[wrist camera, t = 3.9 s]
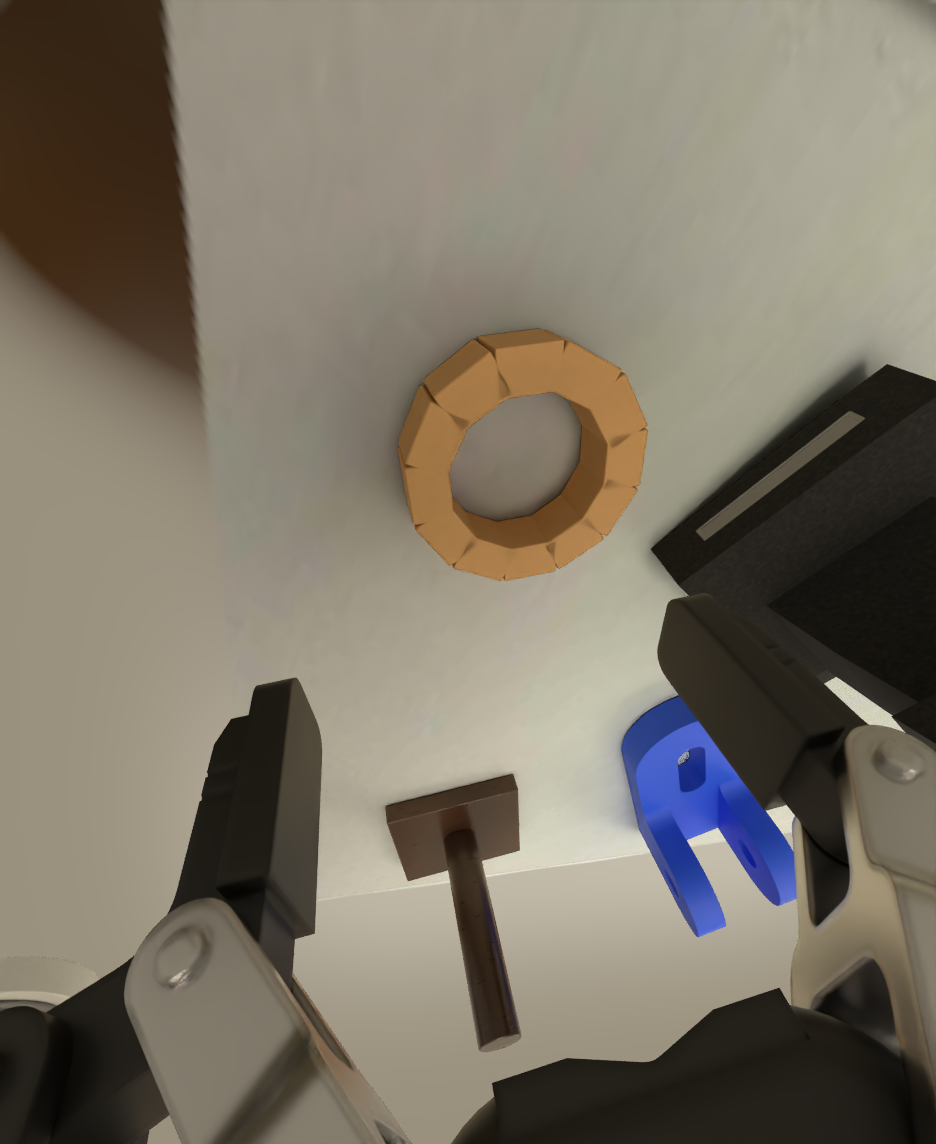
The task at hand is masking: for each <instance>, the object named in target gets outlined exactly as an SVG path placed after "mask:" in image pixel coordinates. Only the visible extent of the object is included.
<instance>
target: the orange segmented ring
mask: <svg viewBox="0 0 936 1144" xmlns="http://www.w3.org/2000/svg"><path fill="white" fill-rule="evenodd" d="M424 383H425V385H426V386H427V387H426V386H424V385H420V386H419V388H418V390H417V393H416V395H415V398H414V401H413V403H412V406H411V408H410V411H409V414H408V416H407V419H406V421H405V424H404V427H403V429H402V432H401V434H400V437H399V439H398V441H399V445H400V446H398V454H399V460H400V465H401V471H402V477H403V483H404V489H405V494H406V499H407V503H408V507H409V511H410V515H411V519H412V523H413V524H414V525H415V529H416V531H417V532H418V533H419V534H420V535H421V536H422V537H423V538H424V539H425V540H426V541H427V542H428V544H429V545H430V546H431V547H432V548H433V549H434V550H435V551H436V552H437V553H438V554H439V555H440V556H441V557H442V558H443V559H444V560H445V562H446V563H447V564H448V565H450V566H451V565H453V568H455V569H458V570H462V571H466V572H469V573H473V574H477V575H480V576H484V577H488V578H491V579H495V580H499V581H501V580H502V579H503V578H504V580H505V581H508V580H513V579H518V578H523V577H528V576H534V575H539V574H544V573H549V572H554V571H555V568H556V566H557V568H559V569H560V568H562V567H563V566H565V565H566V564H568V563H569V562H571V561H572V560H574V559H575V558H577V557H578V556H580V555H581V554H583V553H584V552H585V551H587V550H588V549H590V548H591V547H593V546H594V545H596V544H597V543H599V542H600V541H602V540H603V536H602V535H601V534H603V535H606V536H607V535H608V534H609V533H610V531H611V530H612V528H613V527H614V525H615V523H616V522H617V520H618V519H619V517H620V516H621V514H622V513H623V511H624V510H625V508H626V507H627V505H628V504H629V502H630V501H631V499H632V498H633V496H634V495H635V493H636V492H637V488H636V487H635V486H639V485H640V481H641V474H642V467H643V460H644V453H645V447H646V440H647V433H648V430H647V429H646V428H644V427H646V426H647V423H646V420H645V418H644V416H643V413H642V411H641V409H640V406H639V404H638V402H637V399H636V397H635V395H634V392H633V390H632V388H631V386H630V383H629V381H628V379H627V376H626V374H625V373H623V372H621V369H620V368H619V367H617V366H615V365H613V364H611V363H610V362H608V361H606V360H604V359H602V358H600V357H599V356H597V355H595V354H593V353H591V352H590V351H588V350H586V349H584V348H582V347H580V346H579V345H577V344H575V343H573V342H571V341H569V340H567V339H565V338H563V337H560V336H558V335H556V334H553V333H551V332H549V331H547V330H544V331H543V330H541V329H532V330H524V331H516V332H509V333H501V334H493V335H485V336H479V337H478V342H477V341H475V340H474V339H473V340H471V341H470V342H469V343H468V344H466V345H465V346H464V347H463V348H461V349H460V350H459V351H458V352H457V353H455V354H454V355H453V356H452V357H450V358H449V359H448V360H447V361H445V362H444V363H443V364H442V365H441V366H439V367H438V368H437V369H436V370H434V371H433V372H432V373H431V374H429V375H428V376H427V377H426V378H425V379H424ZM549 392H554V393H556V394H558V395H560V396H562V397H564V398H566V399H568V400H569V402H570V404H571V406H572V407H573V409H574V411H575V413H576V415H577V417H578V419H579V421H580V422H581V424H582V434H581V450H580V462H579V464H578V466H577V468H576V469H575V471H574V473H573V474H572V476H571V478H570V480H569V481H568V483H567V485H566V486H565V488H564V490H563V492H562V493H561V495H560V496H558V497H557V498H555V499H554V500H552V501H551V502H550V503H548V504H547V505H545V506H544V507H543V508H541V509H540V510H538V511H537V512H536V513H534V514H533V515H531V516H526V517H520V518H515V519H509V520H504V521H498V522H496V521H493V520H490V519H487V518H484V517H481V516H477V515H474V514H471V513H468V512H465V511H464V510H463V509H462V507H461V506H460V505H459V504H458V502H457V501H456V500H455V499H454V498H453V496H452V491H451V482H450V473H449V469H450V467H451V465H452V462H453V460H454V458H455V456H456V454H457V451H458V449H459V447H460V445H461V443H462V440H463V438H464V436H465V434H466V431H467V429H468V428H469V427H470V426H472V425H473V424H474V423H476V422H477V421H478V420H479V419H481V418H482V417H483V416H485V415H486V414H487V413H488V412H490V411H491V410H492V409H494V408H495V407H496V406H498V405H499V404H500V403H501V402H503V401H504V400H505V399H508V398H515V397H522V396H528V395H535V394H542V393H549Z"/></svg>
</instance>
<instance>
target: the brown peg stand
mask: <svg viewBox="0 0 936 1144" xmlns="http://www.w3.org/2000/svg"><path fill="white" fill-rule="evenodd" d="M386 816H387V824H388V827H389V830H390V833H391V836H392V838H393V841H394V844H395V847H396V850H397V852H398V855H399V858H400V861H401V863H402V866H403V869H404V872H405V875H406V877H407V880H408V881H411V880H414V879H418V878H421V877H425V876H429V875H432V874H436V873H440V872H443V871H447V870H448V872H449V878H450V884H451V890H452V896H453V901H454V907H455V913H456V919H457V925H458V931H459V937H460V942H461V948H462V954H463V960H464V966H465V972H466V978H467V984H468V990H469V996H470V1001H471V1007H472V1013H473V1019H474V1025H475V1030H476V1037H477V1042H478V1048H479V1051H481V1052H490V1051H495V1050H499V1049H502V1048H505V1047H507V1046H509V1045H511V1044H513V1043H515V1042H517V1041H518V1040H519V1039H520V1038H521V1031H520V1027H519V1022H518V1018H517V1014H516V1009H515V1005H514V1001H513V996H512V992H511V987H510V983H509V978H508V974H507V970H506V965H505V961H504V956H503V952H502V948H501V943H500V939H499V934H498V930H497V926H496V921H495V917H494V912H493V908H492V904H491V899H490V895H489V890H488V886H487V882H486V877H485V873H484V868H483V864H482V861H483V860H487V859H490V858H494V857H498V856H501V855H505V854H509V853H512V852H516V851H519V850H520V842H519V809H518V788H517V785H516V782H515V779H514V776H513V775H509V776H505V777H501V778H497V779H493V780H489V781H485V782H481V783H477V784H473V785H470V786H466V787H462V788H458V789H454V790H450V791H446V792H442V793H438V794H434V795H430V796H426V797H422V798H418V799H414V800H410V801H406V802H402V803H398V804H395V805H391V806H387V807H386Z"/></svg>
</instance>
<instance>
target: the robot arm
mask: <svg viewBox="0 0 936 1144" xmlns="http://www.w3.org/2000/svg"><path fill="white" fill-rule="evenodd" d="M657 653H658V660H659V664H660V667H661V669H662V671H663V673H664V675H665V676H666V678H667V679H668V681H669V682H670V683H671V685H672V686H673V687H674V689H675V690H676V691H677V693H678V694H679V696H680V697H681V698H682V700H683V701H684V702H685V704H686V705H687V706H688V708H689V709H690V711H691V712H692V713H693V715H694V716H695V717H696V719H697V720H698V721H699V723H700V724H701V726H702V727H703V728H704V730H705V731H706V732H707V734H708V735H709V736H710V738H711V739H712V741H713V742H714V743H715V745H716V746H717V747H718V749H719V750H720V751H721V753H722V754H723V756H724V757H725V758H726V760H727V761H728V762H729V764H730V765H731V766H732V768H733V769H734V771H735V772H736V773H737V775H738V776H739V777H740V779H741V780H742V781H743V783H744V784H745V785H746V787H747V788H748V790H749V791H750V792H751V794H752V795H753V796H754V798H755V799H756V800H757V802H758V803H759V805H760V806H761V807H762V809H763V810H764V811H766V810H770V809H774V808H777V807H781V806H784V805H787V806H788V807H789V808H790V810H791V811H792V812H793V814H794V815H795V817H794V819H793V822H792V836H793V850H794V865H795V880H796V894H797V909H798V925H799V926H798V927H799V928H798V939H797V944H796V947H795V950H794V954H793V959H792V966H791V1004H792V1005H789V1003H788V1002H787V1000H786V998H785V997H784V995H783V993H782V991H781V990H780V988H777V989H774V990H771V991H768V992H765V993H762V994H759V995H756V996H753V997H750V998H747V999H744V1000H741V1001H738V1002H735V1003H732V1004H729V1005H726V1006H723V1007H720V1008H717V1009H714V1010H712V1011H711V1012H710V1013H709V1014H708V1015H707V1016H706V1017H704V1018H703V1019H702V1020H701V1021H700V1022H699V1023H698V1024H696V1025H695V1026H694V1027H693V1028H692V1029H691V1030H689V1031H688V1032H687V1033H686V1034H685V1035H684V1036H683V1037H681V1038H680V1039H679V1040H678V1041H677V1042H676V1043H675V1044H673V1045H672V1046H671V1047H670V1048H669V1049H668V1050H667V1051H665V1052H664V1053H663V1054H662V1055H661V1056H660V1057H658V1058H657V1059H656V1060H653V1061H650V1062H626V1061H608V1060H590V1059H572V1058H571V1059H570V1058H566V1059H563V1060H560V1061H557V1062H554V1063H552V1064H548V1065H545V1066H542V1067H539V1068H536V1069H533V1070H530V1071H527V1072H524V1073H521V1074H518V1075H515V1076H512V1077H509V1078H506V1079H503V1080H500V1081H497V1082H494V1083H492V1085H493V1092H494V1098H492V1099H491V1100H490V1101H489V1102H487V1104H485V1105H484V1106H483V1107H482V1108H480V1109H479V1110H478V1111H477V1112H476V1114H474V1115H473V1116H472V1118H471V1119H470V1120H469V1121H468V1122H467V1123H466V1124H465V1125H464V1127H463V1128H462V1129H461V1131H460V1132H459V1133H458V1135H457V1136H456V1138H455V1139H454V1140H453V1142H452V1143H451V1144H936V750H933V749H931V748H930V747H929V746H927V745H926V744H925V743H923V742H921V741H920V740H918V739H916V738H915V737H913V736H911V735H909V734H906V733H904V732H902V731H899V730H896V729H893V728H890V727H885V726H879V725H869V724H867V723H866V722H865V721H864V720H862V719H861V718H860V717H859V716H858V715H857V714H856V713H855V712H854V711H852V710H851V709H850V708H849V707H848V706H847V705H846V704H845V703H844V702H843V701H842V700H841V699H840V698H838V697H837V696H836V695H835V694H834V693H833V692H832V691H831V690H830V689H829V688H828V687H827V686H826V685H824V684H823V683H822V682H821V681H820V680H819V679H818V678H817V677H816V676H815V675H814V674H813V673H812V672H810V671H809V670H808V669H807V668H806V667H805V666H804V665H803V664H802V663H801V662H800V661H799V662H797V661H796V660H795V657H794V656H793V655H792V654H791V653H790V652H789V651H788V650H787V649H786V648H785V647H784V646H782V647H781V646H780V645H779V642H778V641H777V640H776V639H775V638H774V637H773V636H772V635H771V634H770V633H768V632H767V631H766V630H765V629H764V628H763V627H762V626H761V625H760V624H758V623H756V622H754V621H752V620H751V619H749V618H747V617H745V616H743V615H741V614H739V613H738V612H736V611H732V612H728V611H727V610H726V609H725V608H724V607H723V606H722V605H721V604H720V603H719V602H718V601H717V600H716V599H715V598H714V597H713V596H711V595H710V594H707V593H702V594H697V595H692V596H687V597H683V598H678V599H673V600H671V601H670V602H669V603H668V605H667V608H666V613H665V617H664V622H663V626H662V631H661V635H660V640H659V644H658V652H657ZM321 767H322V743H321V735H320V731H319V727H318V724H317V721H316V719H315V716H314V714H313V712H312V709H311V707H310V705H309V702H308V700H307V698H306V695H305V693H304V691H303V688H302V686H301V684H300V682H299V680H298V679H297V678H291V679H286V680H281V681H277V682H272V683H267V684H262V685H257V686H256V687H255V689H254V691H253V696H252V701H251V706H250V711H249V715H247V716H243V717H238V718H233V719H231V720H230V722H229V723H228V725H227V726H226V728H225V729H224V731H223V732H222V734H221V735H220V737H219V738H218V740H217V741H216V743H215V744H214V747H213V751H212V755H211V759H210V763H209V767H208V771H207V773H208V777H206V779H205V782H204V787H203V790H202V801H200V802H199V806H198V810H197V814H196V818H195V822H194V826H193V830H192V833H191V838H190V842H189V845H188V849H187V853H186V857H185V861H184V865H183V869H182V873H181V877H180V881H179V885H178V889H177V892H176V896H175V898H174V901H173V904H172V906H171V908H170V910H169V912H168V914H167V916H165V917H164V918H163V919H162V920H161V921H160V922H159V923H158V924H157V925H156V926H155V927H154V928H153V929H152V930H151V932H150V933H149V934H148V935H147V936H146V938H145V939H144V941H143V942H142V944H141V945H140V947H139V949H138V950H137V952H136V954H135V956H133V957H132V958H131V959H129V960H128V961H127V962H126V963H124V964H123V965H122V966H120V967H119V968H117V969H116V970H114V971H113V972H111V973H109V974H108V975H106V976H104V977H103V978H101V979H100V980H98V981H96V982H95V983H93V984H91V985H90V986H88V987H87V988H85V989H83V990H82V991H80V992H78V993H77V994H75V995H73V996H72V997H70V998H69V999H67V1000H65V1001H64V1002H62V1003H60V1004H59V1005H57V1006H56V1005H53V1004H50V1003H45V1002H39V1001H29V1000H0V1144H147V1140H148V1135H149V1130H150V1129H151V1128H153V1127H154V1126H155V1125H157V1124H158V1123H159V1122H161V1121H162V1120H163V1119H165V1118H166V1117H167V1116H168V1115H170V1117H171V1119H172V1122H173V1124H174V1126H175V1129H176V1131H177V1134H178V1136H179V1139H180V1141H181V1143H182V1144H412V1143H411V1141H410V1140H409V1138H408V1137H407V1135H406V1134H405V1132H404V1131H403V1129H402V1128H401V1127H400V1125H399V1124H398V1122H397V1121H396V1119H395V1118H394V1116H393V1115H392V1113H391V1112H390V1111H389V1109H388V1108H387V1106H386V1105H385V1104H384V1102H383V1101H382V1100H381V1098H380V1097H379V1096H378V1094H377V1093H376V1092H375V1090H374V1089H373V1088H372V1086H371V1085H370V1084H369V1083H368V1082H367V1080H366V1079H365V1078H364V1077H363V1075H362V1074H361V1072H360V1071H359V1069H358V1068H357V1067H356V1065H355V1064H354V1062H353V1061H352V1060H351V1058H350V1056H349V1055H348V1053H347V1052H346V1051H345V1049H344V1048H343V1046H342V1045H341V1043H340V1042H339V1040H338V1039H337V1037H336V1036H335V1034H334V1033H333V1031H332V1030H331V1028H330V1027H329V1025H328V1024H327V1023H326V1021H325V1020H324V1018H323V1017H322V1015H321V1014H320V1012H319V1011H318V1009H317V1008H316V1006H315V1005H314V1004H313V1002H312V1001H311V999H310V998H309V996H308V995H307V993H306V992H305V991H304V989H303V988H302V986H301V984H300V983H299V981H298V980H297V978H296V977H295V975H294V974H293V956H294V943H295V939H297V938H300V937H304V936H308V935H311V934H314V933H315V914H316V890H317V865H318V841H319V816H320V792H321Z"/></svg>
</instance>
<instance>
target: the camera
mask: <svg viewBox="0 0 936 1144" xmlns="http://www.w3.org/2000/svg"><path fill="white" fill-rule="evenodd" d="M651 550H652V551H653V553H654V554H655V555H656V557H657V558H658V559H659V561H660V562H661V563H662V564H663V566H664V567H665V568H666V570H667V571H668V572H669V574H670V575H671V576H672V578H673V579H674V580H675V581H676V583H677V584H678V585H679V586H680V587H681V588H682V589H683V590H684V591H685V592H686V593H687V594H688V595H689V596H692V595H697V594H702V593H707V594H710V595H711V596H713V597H714V598H715V599H716V600H717V601H718V602H719V603H720V604H721V605H722V606H723V607H724V608H725V609H726V610H727V611H728V612H732V611H736V612H738V613H739V614H741V615H743V616H745V617H747V618H749V619H751V620H752V621H754V622H756V623H758V624H760V625H761V626H762V627H763V628H764V629H765V630H766V631H767V632H768V633H770V634H771V635H772V636H773V637H774V638H775V639H776V640H777V641H778V642H779V645H780V646H781V647H782V646H784V647H785V648H786V649H787V650H788V651H789V652H790V653H791V654H792V655H793V656H794V657H795V660H796V661H797V662H799V661H800V662H801V663H802V664H803V665H804V666H805V667H806V668H807V669H808V670H809V671H810V672H812V673H813V674H814V675H815V676H816V677H817V678H818V679H819V680H820V681H821V682H822V683H823V684H824V683H826V682H828V681H829V680H831V679H833V678H835V677H838V678H839V679H841V680H842V681H844V682H845V683H846V684H848V685H849V686H851V687H852V688H854V689H855V690H856V691H858V692H859V693H861V694H862V695H864V696H865V697H867V698H868V699H869V700H871V701H872V702H874V703H875V704H877V705H878V706H880V707H881V708H882V709H884V710H885V711H887V712H888V713H890V714H892V715H893V716H891V717H892V718H893V719H894V720H895V721H896V722H897V723H898V725H899V726H900V727H901V728H902V729H903V730H904V731H905V733H906V734H909V735H911V736H913V737H915V738H916V739H918V740H920V741H921V742H923V743H925V744H926V745H927V746H929V747H930V748H931V749H933V750H936V381H934V380H931V379H929V378H926V377H923V376H920V375H917V374H914V373H911V372H908V371H905V370H902V369H900V368H897V367H894V366H891V365H888V364H887V365H885V366H884V367H883V368H881V369H880V370H879V371H877V372H876V373H875V374H873V375H872V376H871V377H869V378H868V379H867V380H865V381H864V382H862V383H861V384H860V385H858V386H857V387H856V388H854V389H853V390H852V391H850V392H849V393H848V394H846V395H845V396H844V397H842V398H841V399H840V400H838V401H837V402H836V403H834V404H833V405H832V406H831V407H829V408H828V409H827V410H826V411H824V412H823V413H822V414H821V415H819V416H818V417H817V418H815V419H814V420H813V421H812V422H810V423H809V424H808V425H807V426H805V427H804V428H803V429H802V430H800V431H799V432H798V433H797V434H795V435H794V436H793V437H792V438H790V439H789V440H788V441H787V442H785V443H784V444H783V445H782V446H780V447H779V448H778V449H776V450H775V451H774V452H773V453H771V454H770V455H769V456H768V457H766V458H765V459H764V460H763V461H761V462H760V463H759V464H758V465H756V466H755V467H754V468H753V469H751V470H750V471H749V472H748V473H746V474H745V475H744V476H742V477H741V478H740V479H739V480H737V481H736V482H735V483H734V484H732V485H731V486H730V487H729V488H727V489H726V490H725V491H724V492H722V493H721V494H720V495H719V496H717V497H716V498H715V499H714V500H712V501H711V502H710V503H709V504H707V505H706V506H705V507H703V508H702V509H701V510H700V511H698V512H697V513H696V514H695V515H693V516H692V517H691V518H690V519H688V520H687V521H686V522H685V523H683V524H682V525H681V526H680V527H678V528H677V529H676V530H675V531H673V532H672V533H671V534H669V535H668V536H667V537H666V538H664V539H663V540H662V541H661V542H659V543H658V544H657V545H656V546H654V547H653V548H652V549H651Z"/></svg>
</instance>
